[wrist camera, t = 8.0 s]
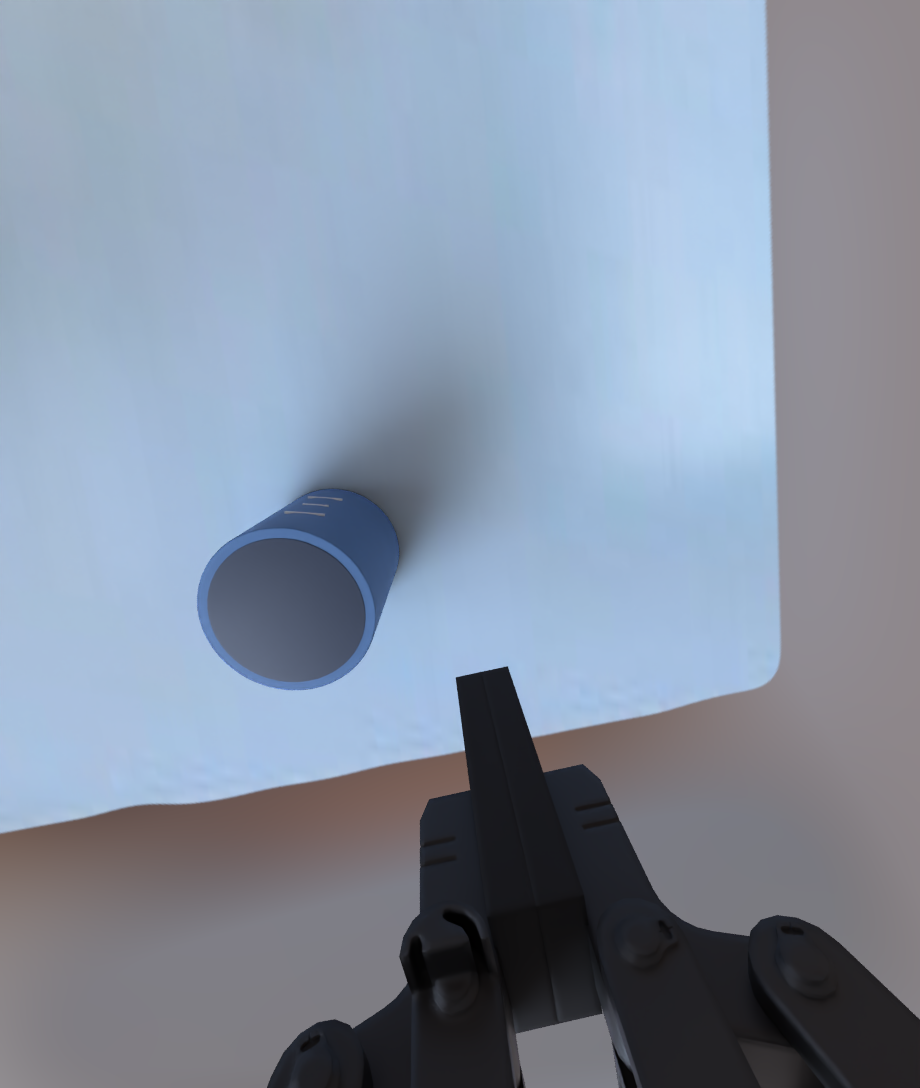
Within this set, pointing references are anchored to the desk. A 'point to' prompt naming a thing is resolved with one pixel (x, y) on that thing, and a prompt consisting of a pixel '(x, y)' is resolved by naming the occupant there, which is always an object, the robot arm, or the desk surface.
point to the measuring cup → (300, 590)
